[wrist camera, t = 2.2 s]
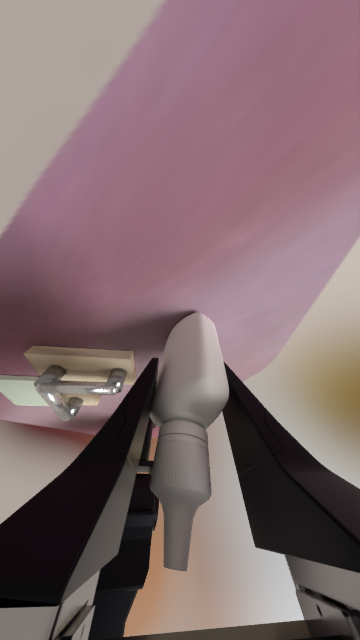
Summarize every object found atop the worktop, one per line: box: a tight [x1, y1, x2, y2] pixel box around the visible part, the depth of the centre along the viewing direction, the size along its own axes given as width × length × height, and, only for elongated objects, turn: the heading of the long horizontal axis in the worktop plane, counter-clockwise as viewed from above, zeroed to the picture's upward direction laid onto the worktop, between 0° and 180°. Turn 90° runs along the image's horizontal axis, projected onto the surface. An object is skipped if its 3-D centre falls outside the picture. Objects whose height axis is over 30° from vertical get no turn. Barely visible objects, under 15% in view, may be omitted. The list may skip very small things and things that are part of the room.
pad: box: [0, 375, 49, 406], centre depth 20 cm, size 7×7×1 cm
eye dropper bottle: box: [149, 312, 229, 571], centre depth 9 cm, size 4×6×12 cm
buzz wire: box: [24, 346, 136, 421], centre depth 17 cm, size 11×11×4 cm
